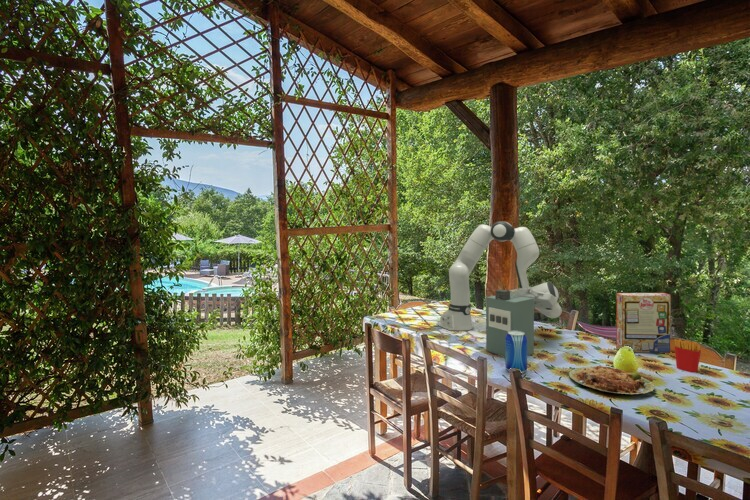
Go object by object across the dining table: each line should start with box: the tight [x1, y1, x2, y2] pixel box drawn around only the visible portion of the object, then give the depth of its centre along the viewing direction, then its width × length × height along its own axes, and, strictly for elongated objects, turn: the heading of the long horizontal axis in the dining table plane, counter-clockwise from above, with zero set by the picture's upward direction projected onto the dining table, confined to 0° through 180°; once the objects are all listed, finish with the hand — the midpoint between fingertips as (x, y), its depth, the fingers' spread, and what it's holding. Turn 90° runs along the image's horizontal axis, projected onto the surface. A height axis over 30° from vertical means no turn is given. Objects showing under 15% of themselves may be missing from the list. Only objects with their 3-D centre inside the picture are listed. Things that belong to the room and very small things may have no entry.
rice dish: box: [568, 365, 656, 395], centre depth 144 cm, size 28×28×5 cm
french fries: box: [673, 338, 702, 374], centre depth 154 cm, size 8×4×12 cm, turn 33°
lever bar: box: [494, 287, 532, 301], centre depth 181 cm, size 5×22×4 cm, turn 124°
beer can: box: [504, 331, 528, 375], centre depth 157 cm, size 8×8×16 cm
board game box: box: [615, 292, 672, 354], centre depth 177 cm, size 20×6×27 cm, turn 80°
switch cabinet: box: [485, 295, 535, 358], centre depth 179 cm, size 16×16×26 cm
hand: (525, 290), depth 185 cm, fingers closed on lever bar, 3 cm apart
